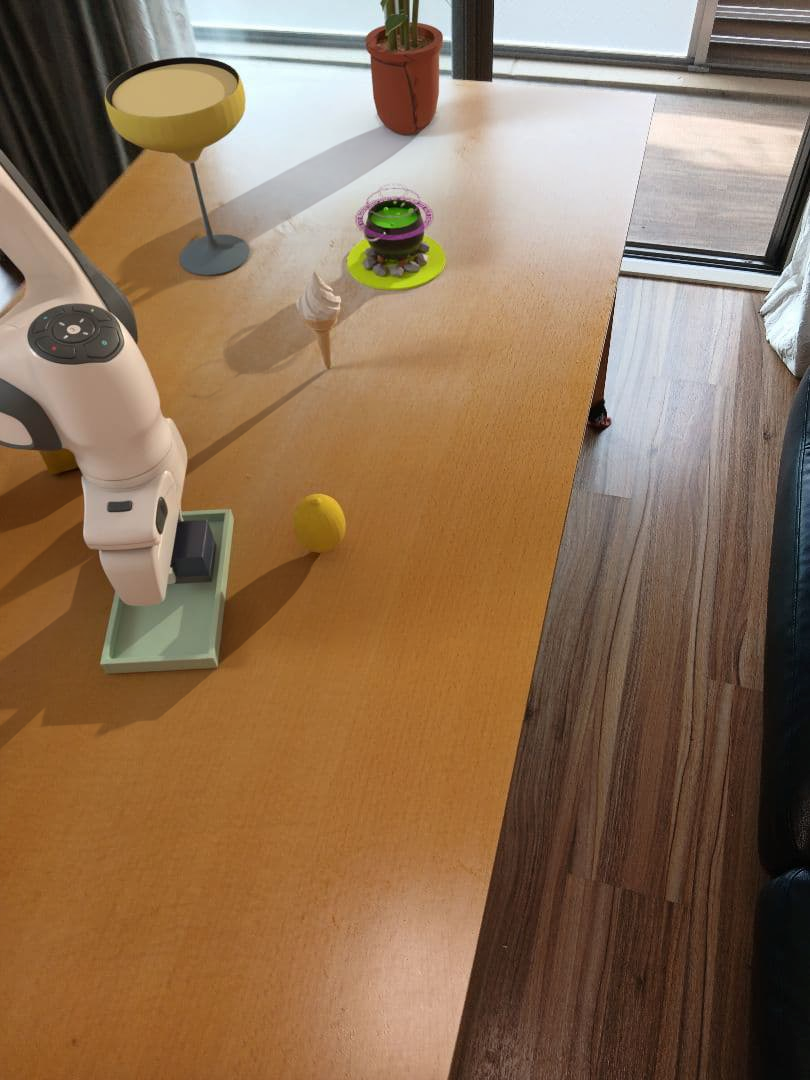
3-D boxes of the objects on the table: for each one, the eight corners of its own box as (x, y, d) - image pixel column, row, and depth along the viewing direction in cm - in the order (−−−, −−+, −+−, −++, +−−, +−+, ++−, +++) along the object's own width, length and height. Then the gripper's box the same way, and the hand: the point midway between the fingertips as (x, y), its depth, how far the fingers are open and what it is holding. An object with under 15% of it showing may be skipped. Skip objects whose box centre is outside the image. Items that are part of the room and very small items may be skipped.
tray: (106, 674, 82) (99, 664, 80) (136, 525, 93) (131, 514, 92) (217, 668, 82) (213, 658, 80) (234, 519, 93) (230, 508, 92)
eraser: (137, 586, 87) (124, 561, 84) (144, 549, 90) (132, 523, 87) (212, 582, 87) (202, 557, 84) (216, 545, 90) (207, 519, 87)
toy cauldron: (367, 226, 129) (362, 158, 121) (458, 241, 126) (459, 172, 117) (331, 280, 121) (323, 211, 112) (427, 298, 118) (426, 228, 109)
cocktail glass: (147, 293, 121) (89, 121, 101) (165, 226, 132) (116, 59, 112) (269, 287, 120) (235, 114, 101) (276, 220, 132) (247, 52, 112)
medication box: (146, 436, 102) (137, 411, 99) (149, 449, 100) (140, 423, 98) (48, 463, 100) (35, 437, 97) (50, 476, 98) (37, 451, 95)
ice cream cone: (356, 361, 110) (345, 263, 98) (336, 387, 107) (323, 289, 95) (319, 350, 111) (305, 253, 99) (299, 376, 108) (282, 278, 96)
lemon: (289, 545, 91) (278, 498, 84) (329, 519, 93) (321, 471, 87) (318, 575, 88) (309, 529, 82) (358, 548, 90) (352, 501, 84)
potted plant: (366, 114, 153) (349, -119, 125) (447, 104, 154) (448, -129, 126) (381, 160, 142) (366, -84, 114) (468, 149, 143) (474, -95, 116)
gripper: (119, 393, 83) (157, 484, 94) (78, 554, 70) (127, 637, 81) (181, 389, 83) (212, 480, 94) (151, 550, 70) (191, 633, 81)
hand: (172, 554), depth 87 cm, fingers closed on eraser, 5 cm apart
